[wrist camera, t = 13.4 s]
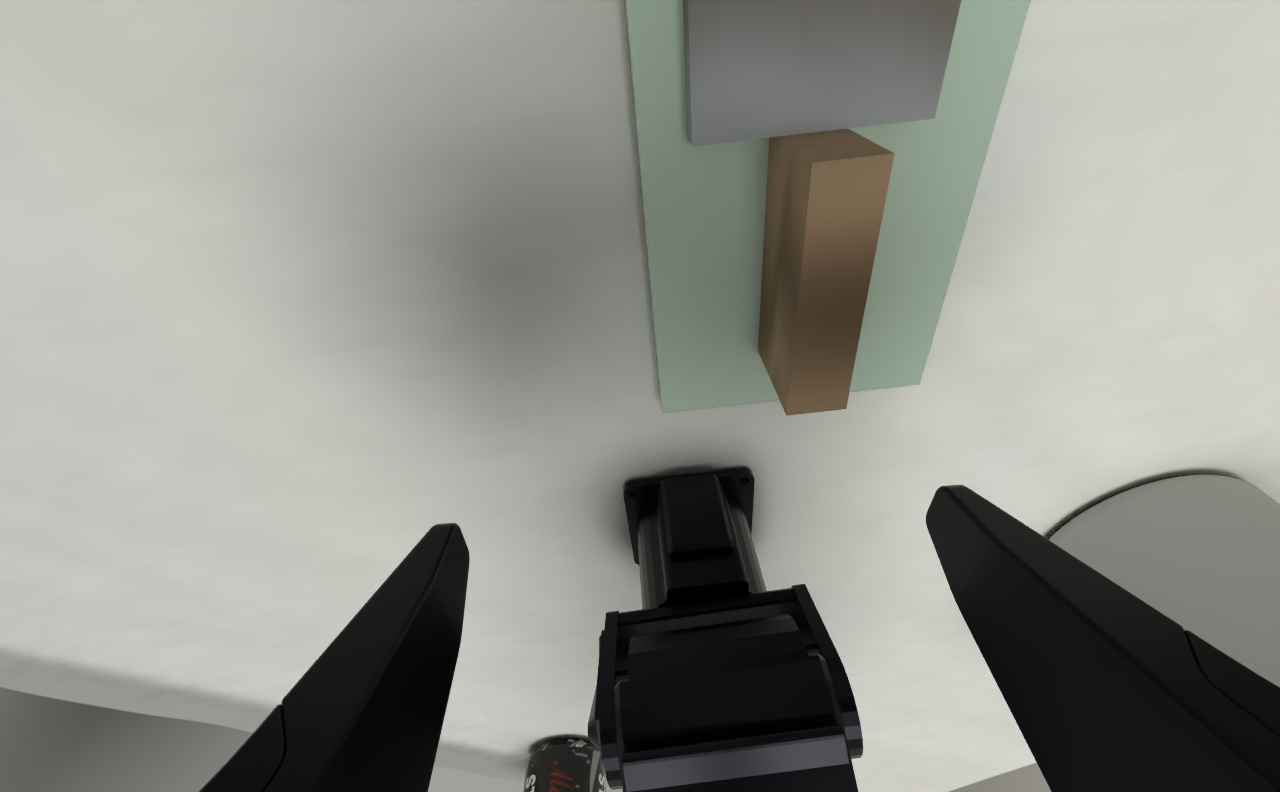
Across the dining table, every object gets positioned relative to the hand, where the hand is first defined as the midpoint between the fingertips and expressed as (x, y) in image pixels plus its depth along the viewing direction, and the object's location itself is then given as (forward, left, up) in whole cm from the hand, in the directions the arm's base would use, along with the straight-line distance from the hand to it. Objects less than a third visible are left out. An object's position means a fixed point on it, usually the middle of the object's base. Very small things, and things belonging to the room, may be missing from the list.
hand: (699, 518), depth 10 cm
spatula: (+3, -5, -11) cm, 12 cm away
